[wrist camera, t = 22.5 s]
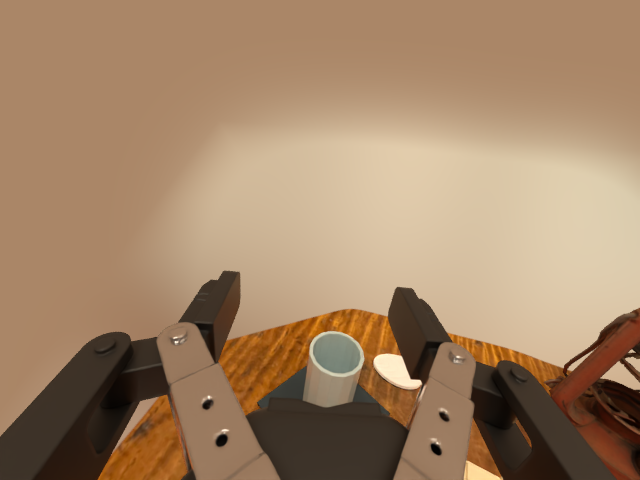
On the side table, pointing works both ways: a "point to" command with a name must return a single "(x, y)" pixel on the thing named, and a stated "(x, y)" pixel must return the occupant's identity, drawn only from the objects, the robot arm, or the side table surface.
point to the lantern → (606, 398)
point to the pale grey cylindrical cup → (332, 369)
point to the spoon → (395, 371)
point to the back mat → (296, 387)
